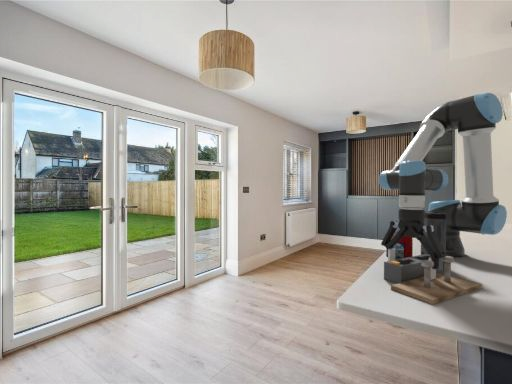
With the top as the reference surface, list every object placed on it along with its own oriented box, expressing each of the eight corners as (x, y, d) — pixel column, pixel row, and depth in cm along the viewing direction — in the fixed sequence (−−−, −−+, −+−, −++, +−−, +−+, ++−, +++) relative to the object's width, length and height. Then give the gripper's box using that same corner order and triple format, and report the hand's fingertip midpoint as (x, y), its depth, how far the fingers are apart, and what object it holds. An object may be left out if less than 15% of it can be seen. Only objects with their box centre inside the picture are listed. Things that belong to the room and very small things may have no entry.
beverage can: (388, 263, 109) (388, 232, 109) (405, 262, 109) (405, 232, 109) (398, 268, 102) (398, 235, 102) (416, 267, 103) (416, 235, 102)
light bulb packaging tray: (425, 269, 101) (425, 252, 101) (443, 273, 96) (443, 255, 96) (383, 279, 91) (384, 260, 91) (401, 284, 86) (401, 264, 85)
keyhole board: (439, 276, 93) (439, 250, 93) (482, 288, 82) (482, 259, 82) (390, 289, 82) (390, 260, 82) (433, 304, 71) (433, 271, 71)
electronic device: (447, 270, 100) (448, 213, 99) (428, 269, 101) (429, 213, 100) (436, 263, 109) (436, 211, 108) (419, 262, 110) (419, 211, 109)
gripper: (371, 206, 102) (370, 264, 102) (445, 212, 79) (444, 286, 80) (385, 205, 105) (384, 262, 105) (460, 211, 83) (459, 282, 83)
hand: (410, 273), depth 92 cm, fingers open, 13 cm apart
